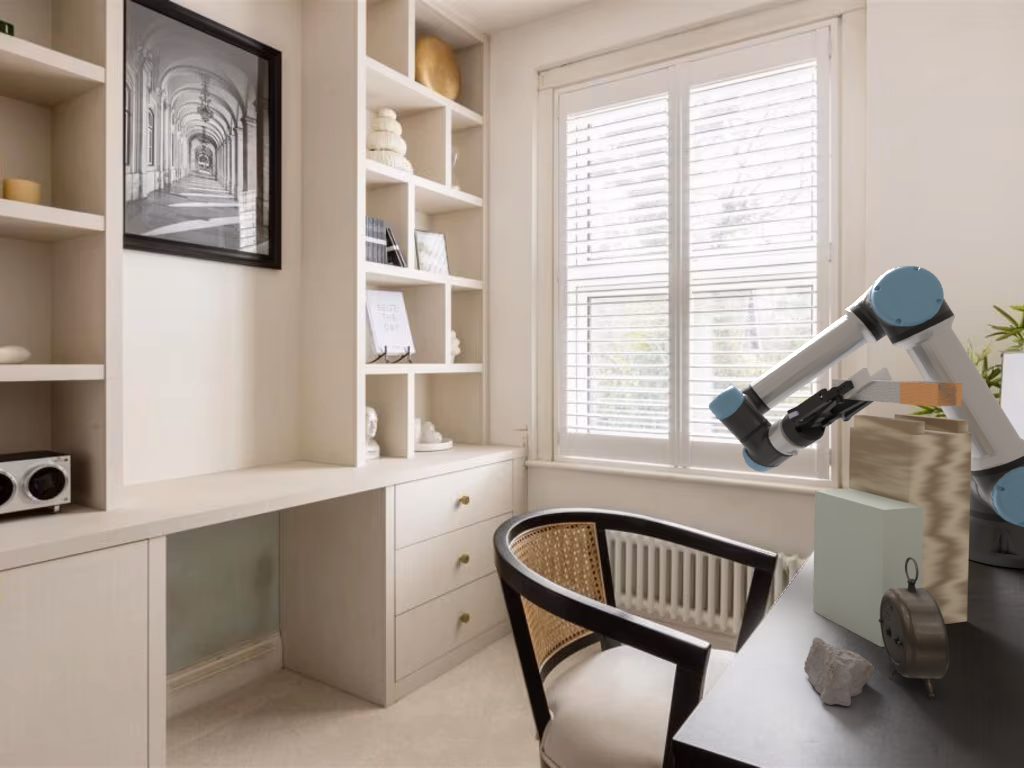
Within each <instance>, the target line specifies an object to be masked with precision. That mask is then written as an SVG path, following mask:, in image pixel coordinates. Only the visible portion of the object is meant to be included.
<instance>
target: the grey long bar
mask: <svg viewBox="0 0 1024 768" xmlns="http://www.w3.org/2000/svg"><path fill="white" fill-rule="evenodd" d="M847 379H848V378H832V379H831V381H832V383H831V384H832V385H831V386H832V387H838V386H839V385H840V384H842V383H843V382H844V381H846V380H847ZM872 381H873V382H872V383H870V384H869V385H867V386H866V387H864V388H863V389H861V390H860V391H858V392H857V393H855V394H854V395H852V396H851V397H849V398H848V399H851V400H864V401H874V402H880V403H890V404H891V403H892V404H893V403H894V404H900V405H908V406H909V405H911V406H924V407H925V406H926V407H940V406H959V405H961V397H962V383H957V382H928V381H926V382H925V381H920V380H917V381H915V380H893V379H892V380H872ZM832 387H831V388H832ZM842 399H844V398H843V396H842Z"/></svg>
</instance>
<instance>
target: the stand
mask: <svg viewBox="0 0 1024 768" xmlns="http://www.w3.org/2000/svg"><path fill="white" fill-rule="evenodd" d="M971 446H972V433H969V432H968V420H960V419H950V418H947V417H938V416H931V415H930V416H929V415H928V416H927V415H918V414H908V413H895V414H894V417H885V416H874V415H865V414H860V415H859V414H858V415H857V414H855V415H854V416H853V426H851V427H849V460H848V462H849V463H848V468H849V469H848V489H850V488H851V489H855V490H859V491H863V492H866V493H870V494H874V495H878V496H882V497H886V498H890V499H894V500H898V501H902V502H906V503H910V504H914V505H918V506H922V507H923V540H922V583H921V588H924V589H926V590H927V591H928V592H930V593H931V595H932V596H933V597H934V598H935V600H936V602H937V604H938V606H939V608H940V611H941V613H942V616H943V619H944V622H945V625H948V624H956V623H964V622H967V621H968V595H969V594H968V590H969V560H970V559H969V522H970V484H971Z"/></svg>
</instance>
